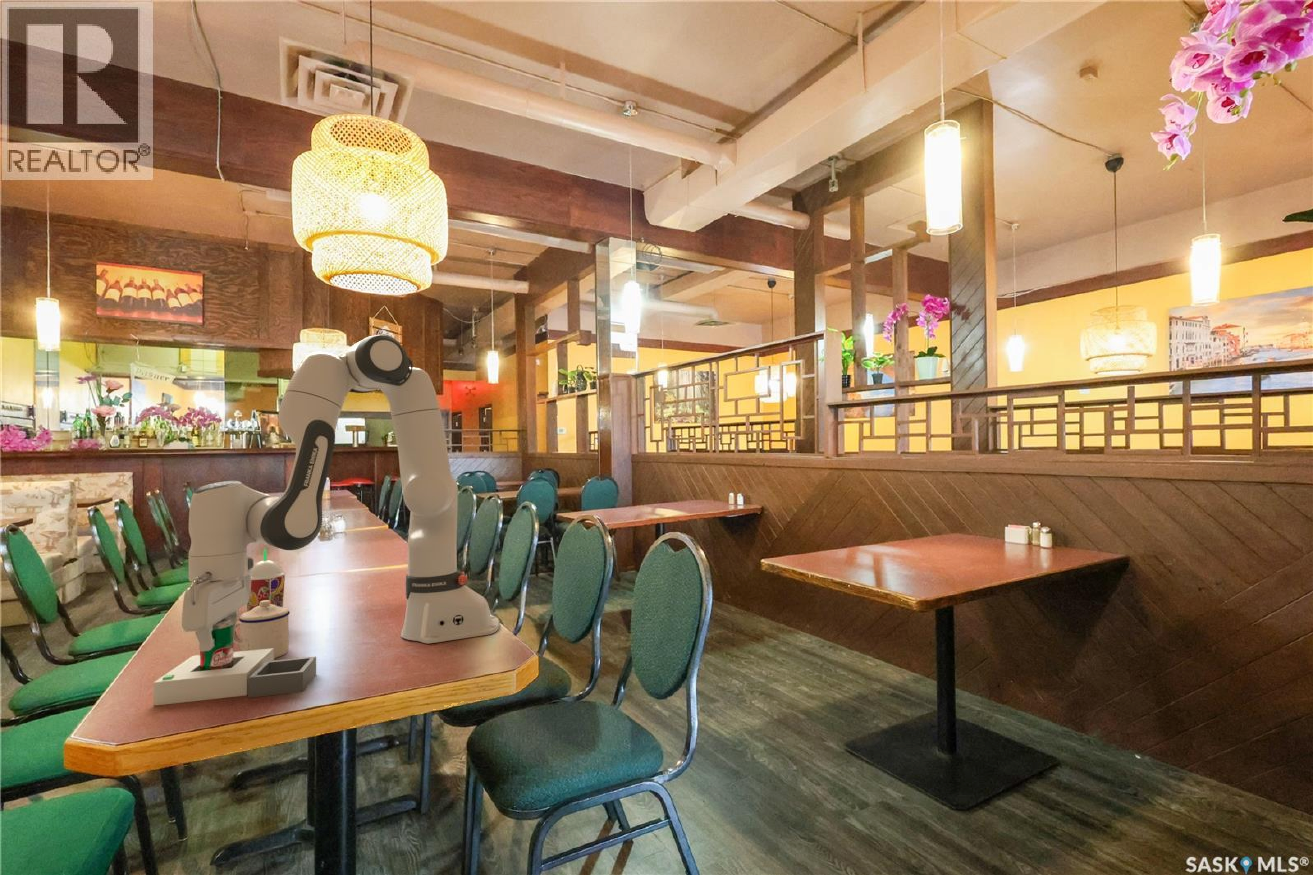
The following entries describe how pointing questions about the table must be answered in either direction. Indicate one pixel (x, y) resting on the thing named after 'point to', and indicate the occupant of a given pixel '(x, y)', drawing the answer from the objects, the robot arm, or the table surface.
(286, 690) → the grey square tray
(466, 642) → the table surface
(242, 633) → the teacup with lid
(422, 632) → the robot arm
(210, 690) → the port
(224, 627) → the soda can
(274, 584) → the smoothie
